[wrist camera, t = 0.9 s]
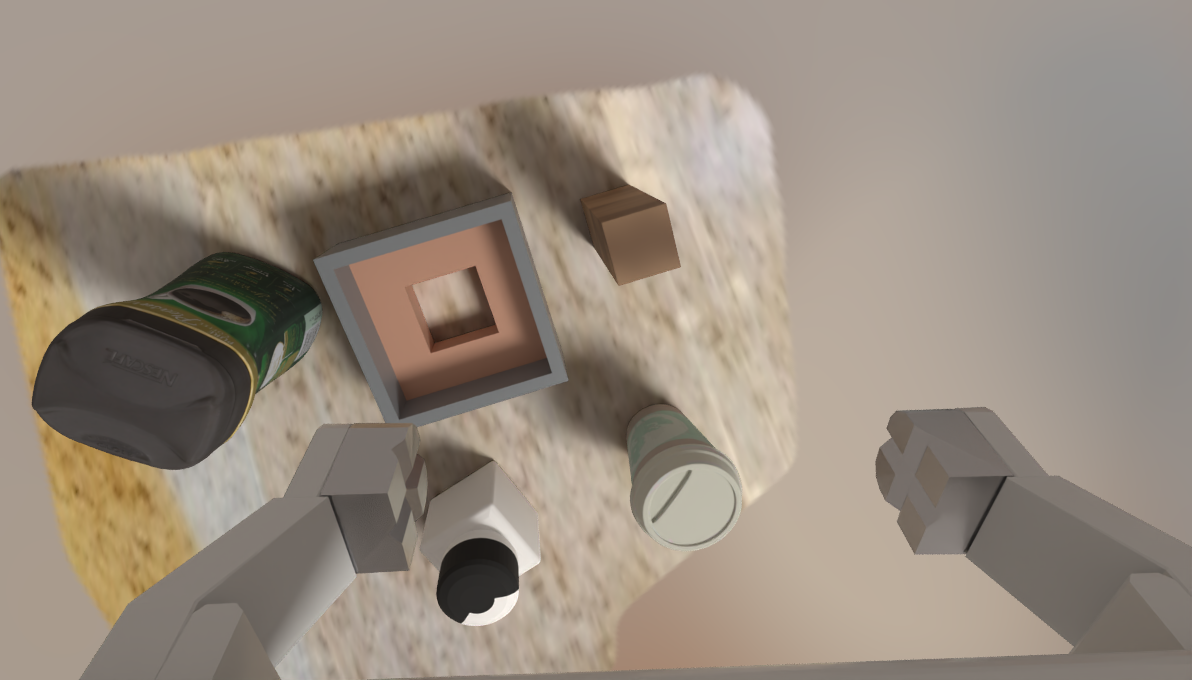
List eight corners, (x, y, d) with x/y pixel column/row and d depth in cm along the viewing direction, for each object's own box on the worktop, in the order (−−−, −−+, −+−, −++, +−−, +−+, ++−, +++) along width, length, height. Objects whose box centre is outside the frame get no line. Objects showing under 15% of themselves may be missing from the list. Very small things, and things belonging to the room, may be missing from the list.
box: (562, 353, 53) (568, 380, 47) (404, 402, 53) (391, 435, 47) (511, 192, 48) (511, 200, 43) (336, 244, 48) (312, 259, 42)
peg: (641, 233, 51) (680, 266, 38) (593, 247, 50) (618, 285, 38) (628, 184, 49) (665, 203, 37) (580, 199, 49) (601, 223, 37)
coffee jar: (179, 326, 48) (-9, 438, 31) (212, 235, 47) (31, 299, 29) (303, 375, 51) (193, 504, 33) (339, 290, 49) (242, 380, 32)
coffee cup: (682, 373, 55) (725, 437, 44) (716, 449, 58) (765, 527, 47) (595, 415, 55) (615, 489, 44) (634, 488, 58) (662, 575, 47)
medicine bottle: (428, 499, 56) (406, 593, 45) (494, 457, 55) (488, 542, 44) (476, 552, 58) (466, 654, 47) (539, 512, 58) (545, 606, 47)
